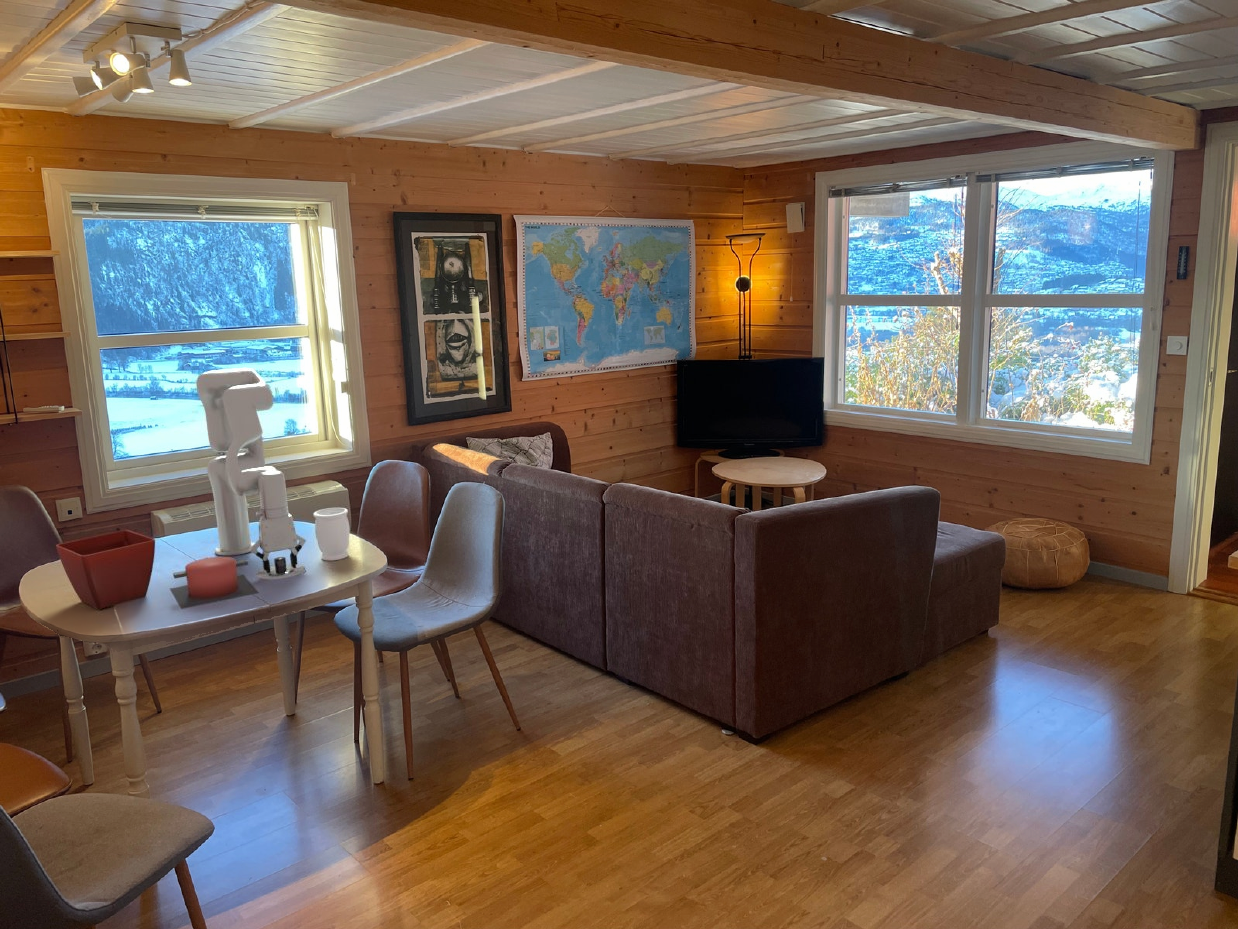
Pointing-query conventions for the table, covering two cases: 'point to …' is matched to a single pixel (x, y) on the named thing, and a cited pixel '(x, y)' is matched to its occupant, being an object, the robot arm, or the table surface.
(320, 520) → the jar
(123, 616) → the table surface
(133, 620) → the table surface
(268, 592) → the table surface
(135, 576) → the plant pot
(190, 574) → the pot
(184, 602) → the plate
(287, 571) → the lid
